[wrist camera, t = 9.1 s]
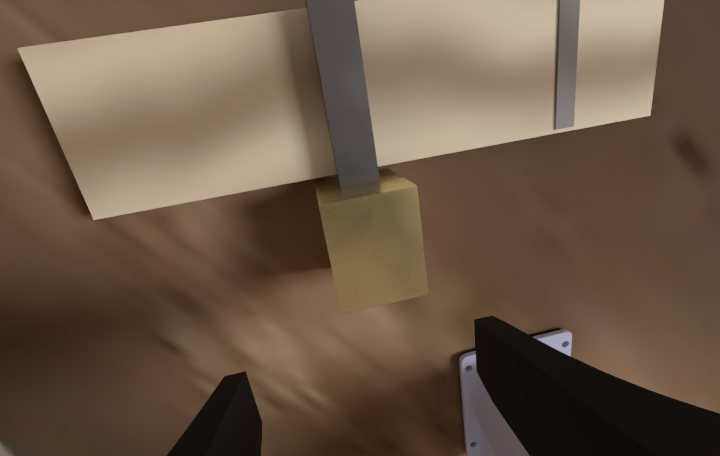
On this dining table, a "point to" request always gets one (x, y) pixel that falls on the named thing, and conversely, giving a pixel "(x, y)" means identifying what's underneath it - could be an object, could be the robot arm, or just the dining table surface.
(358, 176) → the marking gauge
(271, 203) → the dining table surface
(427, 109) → the maple board
